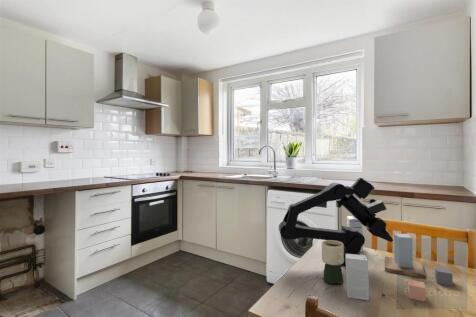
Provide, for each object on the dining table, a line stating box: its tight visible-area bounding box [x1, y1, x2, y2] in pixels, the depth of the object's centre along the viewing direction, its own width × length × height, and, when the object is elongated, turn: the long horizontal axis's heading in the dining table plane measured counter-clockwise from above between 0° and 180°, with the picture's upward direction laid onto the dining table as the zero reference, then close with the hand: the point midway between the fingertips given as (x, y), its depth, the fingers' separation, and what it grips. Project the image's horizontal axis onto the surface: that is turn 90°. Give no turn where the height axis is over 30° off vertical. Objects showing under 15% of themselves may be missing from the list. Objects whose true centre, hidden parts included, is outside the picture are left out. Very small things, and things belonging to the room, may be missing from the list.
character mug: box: [321, 240, 344, 284], centre depth 87 cm, size 11×7×13 cm, turn 14°
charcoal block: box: [434, 266, 454, 287], centre depth 85 cm, size 4×4×4 cm
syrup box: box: [346, 215, 364, 252], centre depth 116 cm, size 6×6×14 cm
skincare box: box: [345, 254, 370, 301], centre depth 77 cm, size 6×4×12 cm
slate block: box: [393, 233, 414, 268], centre depth 96 cm, size 4×4×11 cm
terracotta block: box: [407, 279, 427, 303], centre depth 76 cm, size 4×4×4 cm
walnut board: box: [384, 256, 426, 279], centre depth 96 cm, size 12×12×1 cm
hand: (387, 237), depth 97 cm, fingers open, 9 cm apart
